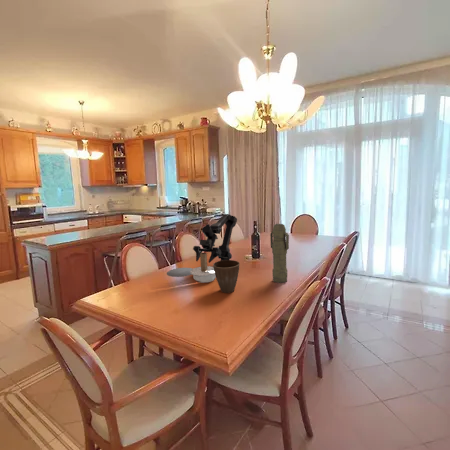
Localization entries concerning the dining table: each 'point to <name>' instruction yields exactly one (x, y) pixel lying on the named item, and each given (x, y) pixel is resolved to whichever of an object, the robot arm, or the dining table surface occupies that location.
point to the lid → (203, 267)
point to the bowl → (204, 278)
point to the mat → (179, 272)
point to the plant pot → (226, 274)
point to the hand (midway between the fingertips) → (202, 261)
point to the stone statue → (279, 252)
